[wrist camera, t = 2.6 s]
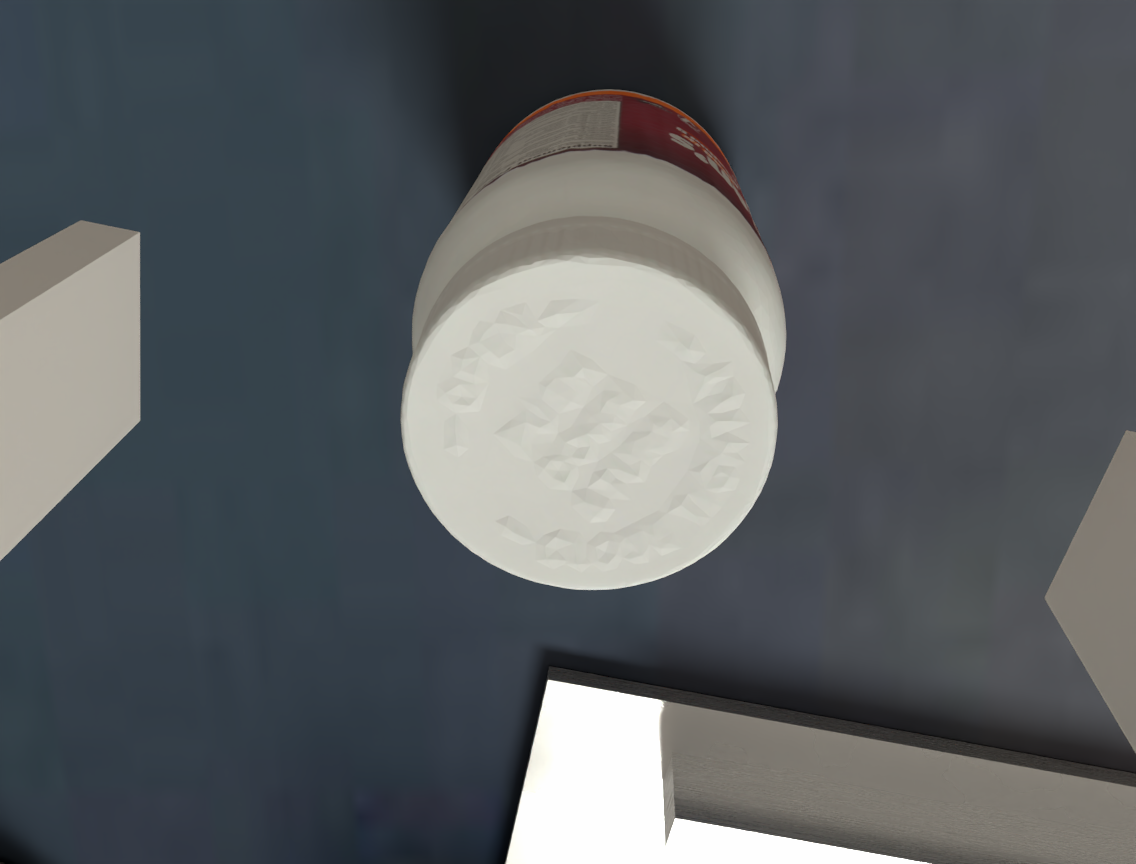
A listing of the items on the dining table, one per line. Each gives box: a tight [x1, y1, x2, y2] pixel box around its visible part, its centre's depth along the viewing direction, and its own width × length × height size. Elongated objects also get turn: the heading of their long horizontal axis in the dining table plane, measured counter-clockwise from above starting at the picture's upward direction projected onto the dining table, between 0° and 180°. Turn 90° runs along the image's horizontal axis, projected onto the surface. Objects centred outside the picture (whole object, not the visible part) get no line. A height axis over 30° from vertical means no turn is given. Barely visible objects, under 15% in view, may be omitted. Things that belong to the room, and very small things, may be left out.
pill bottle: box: [401, 89, 786, 590], centre depth 19 cm, size 6×6×11 cm
